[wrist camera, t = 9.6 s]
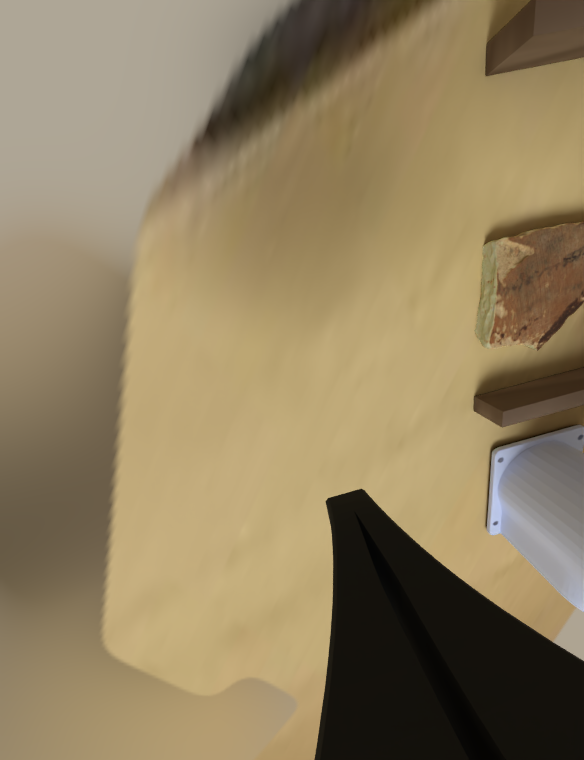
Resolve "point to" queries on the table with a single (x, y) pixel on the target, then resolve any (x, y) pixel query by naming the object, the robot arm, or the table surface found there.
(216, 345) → the table surface
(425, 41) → the table surface
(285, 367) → the table surface
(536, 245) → the shard
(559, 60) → the frame
